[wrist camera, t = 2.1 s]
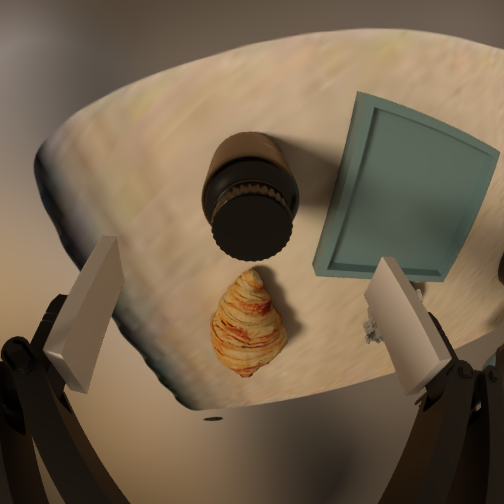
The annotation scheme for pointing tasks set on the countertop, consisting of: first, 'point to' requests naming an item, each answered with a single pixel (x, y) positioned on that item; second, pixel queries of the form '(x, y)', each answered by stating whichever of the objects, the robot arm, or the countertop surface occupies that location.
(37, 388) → the robot arm
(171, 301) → the countertop surface
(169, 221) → the countertop surface
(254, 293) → the croissant
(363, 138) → the tray
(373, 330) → the egg carton
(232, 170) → the supplement bottle
